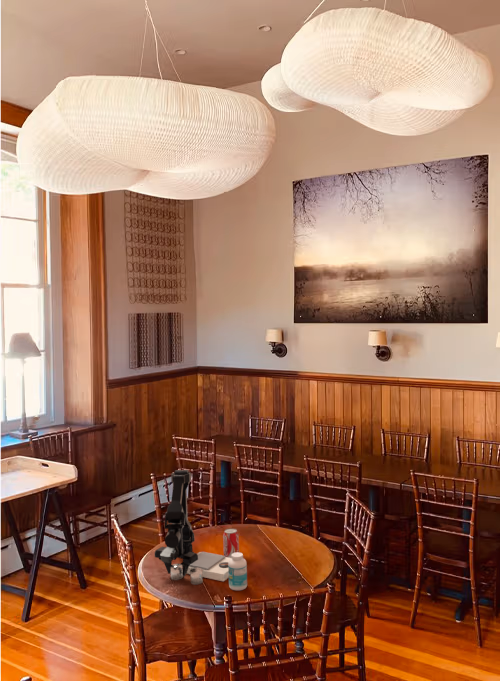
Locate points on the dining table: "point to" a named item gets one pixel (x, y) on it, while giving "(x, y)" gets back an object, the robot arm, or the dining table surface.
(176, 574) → the cylinder
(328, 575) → the dining table surface
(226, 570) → the scale
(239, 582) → the pill bottle
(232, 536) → the soda can
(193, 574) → the cylinder
